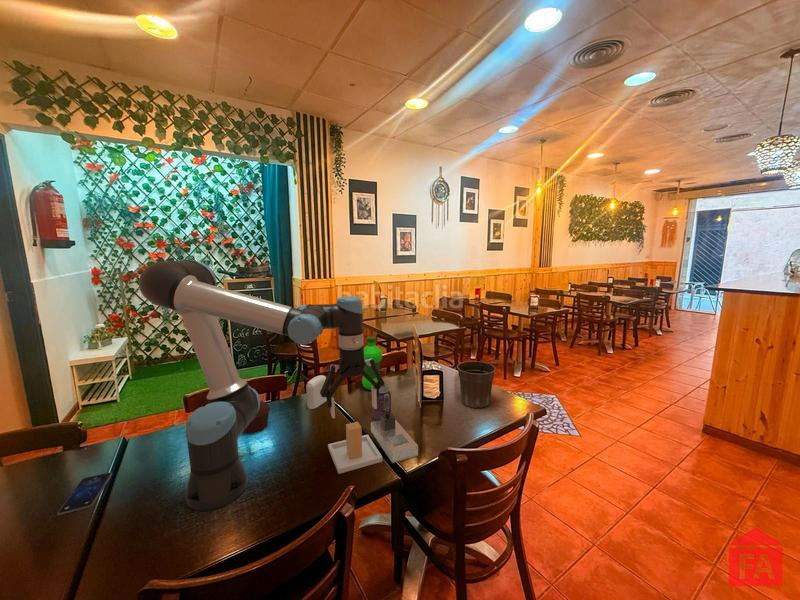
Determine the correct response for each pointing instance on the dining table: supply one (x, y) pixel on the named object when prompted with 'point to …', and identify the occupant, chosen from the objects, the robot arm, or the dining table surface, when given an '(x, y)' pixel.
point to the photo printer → (315, 392)
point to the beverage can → (382, 403)
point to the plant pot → (476, 383)
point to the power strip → (393, 438)
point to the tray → (345, 464)
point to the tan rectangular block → (354, 440)
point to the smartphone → (85, 494)
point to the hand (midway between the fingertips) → (354, 411)
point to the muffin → (259, 419)
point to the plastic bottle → (376, 355)
